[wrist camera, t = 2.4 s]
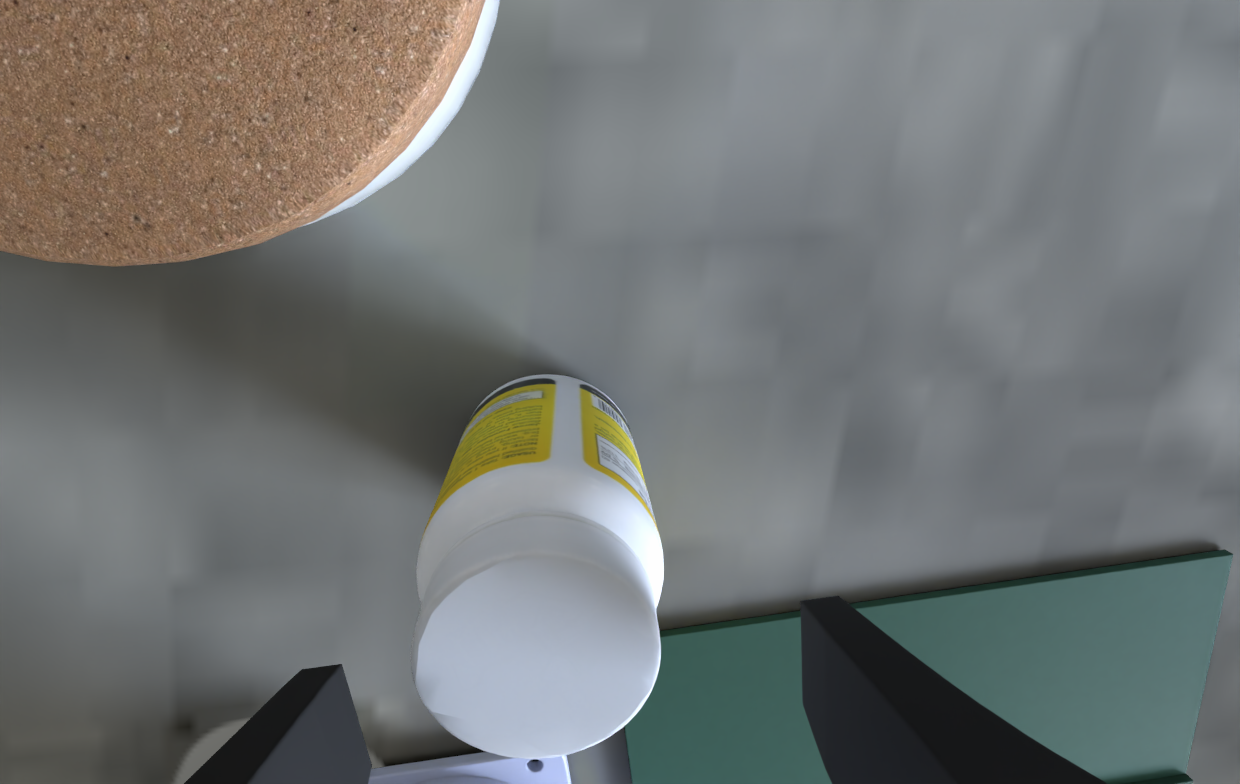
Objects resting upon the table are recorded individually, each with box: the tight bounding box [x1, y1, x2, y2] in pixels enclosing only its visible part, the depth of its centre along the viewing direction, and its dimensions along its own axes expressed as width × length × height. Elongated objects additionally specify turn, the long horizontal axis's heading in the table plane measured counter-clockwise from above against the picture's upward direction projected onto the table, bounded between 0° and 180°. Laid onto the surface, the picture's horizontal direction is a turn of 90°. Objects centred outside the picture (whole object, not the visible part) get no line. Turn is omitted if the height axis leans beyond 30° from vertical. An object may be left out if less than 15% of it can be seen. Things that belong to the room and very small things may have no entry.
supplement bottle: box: [411, 374, 664, 759], centre depth 14 cm, size 5×5×8 cm
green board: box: [624, 550, 1233, 784], centre depth 22 cm, size 20×12×1 cm, turn 96°
